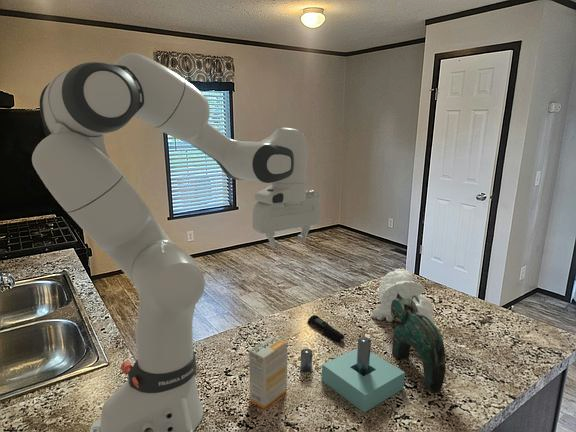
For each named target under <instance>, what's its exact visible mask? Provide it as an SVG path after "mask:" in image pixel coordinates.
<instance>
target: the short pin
mask: <svg viewBox="0 0 576 432" xmlns="http://www.w3.org/2000/svg"><path fill="white" fill-rule="evenodd" d="M312 370H313V350H312V349H310V348H307V347H306V348H302V349H301V350H300V371H301V372H303V373H311V372H312Z"/></svg>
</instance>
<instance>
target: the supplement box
mask: <svg viewBox="0 0 576 432" xmlns="http://www.w3.org/2000/svg"><path fill="white" fill-rule="evenodd" d="M248 356H249V357H248V360H249V361H248V362H249V365H248V366H249V369H248V370H249V371H248V372H249V401H250V402H252V403H253V404H255V405H256V406H258V407H260V408H261V409H263V410H265V409H266V408H268V407H270V405H271V404H273V403H274V402H275V401H276V400H278V399H279V398H280V397H281V396H283V395H284V394H285V393H286V392H287V390H288V389H287V388H288V342H287V341H285V340H282V339H280V338H279V337H276V336H273V335H272V336H271V337H269V338H267V339H266V340H264V341H262V342H260V343H259V344H257V345H256V346H253V347H252V348H251V349H249V350H248Z"/></svg>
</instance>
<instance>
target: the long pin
mask: <svg viewBox="0 0 576 432" xmlns="http://www.w3.org/2000/svg"><path fill="white" fill-rule="evenodd" d="M371 345H372V341H371V339H370V338H368V337H365V336H364V337H359V338H358V339H357V348H358V351H357V367H356V371H357V372H358V373H360V374H361V375H363V376H365V375H367V374H369V362H370V352H371Z"/></svg>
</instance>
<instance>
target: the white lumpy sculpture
mask: <svg viewBox="0 0 576 432" xmlns="http://www.w3.org/2000/svg"><path fill="white" fill-rule="evenodd" d="M376 292H377V293H376V294H377V296H378V298H379V301H380V305H378V304H377V305H376V307H375V309H373V311H372V312H371V315H370V317H371V318H373V319H375V318H376V319H377V320H380V321H382V320H384V319H385V320H386V321H387V322H389V323H390V322H393V321H395V320H394V319H393V318H392V316H391V304H392V301H393V300H394V299H396V297H397V294H399V295H400V296H401V297H402V298H410V299H412V296H414V295H415V296H417V298H418V299H419V302H420V304H419V303H418V301H417V300H416V298H415V297H413V301H414V302H415V304H416V306H417V309H418V312H419V313H420V314H422V315H424V316H426V317H427V318H429V319H430V320H431V321H432V322H433V324H434V322H435V320H434V317H433V316H434V314H435V311H434V307H433V304H432V302H431V301H430V300H429V299H428V298H427V296H426V295H424V294H423V293H424V292H425V287H424V285H422V284H421V283H419V282H417V281H414V276H413V274H412V273H411V272H410V271H409V270H406V269H405V268H400V267H399V268H395V269H394V271H389V272H387V274H385V275H384V277H382V279H381V280H380V283H379V287H378V288H376ZM434 325H435V324H434Z"/></svg>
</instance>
